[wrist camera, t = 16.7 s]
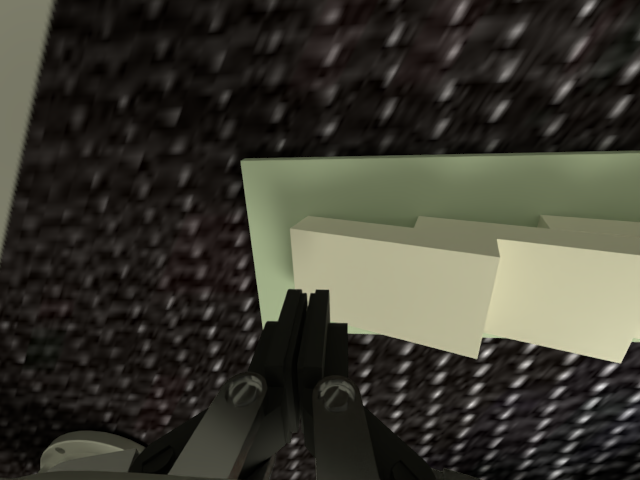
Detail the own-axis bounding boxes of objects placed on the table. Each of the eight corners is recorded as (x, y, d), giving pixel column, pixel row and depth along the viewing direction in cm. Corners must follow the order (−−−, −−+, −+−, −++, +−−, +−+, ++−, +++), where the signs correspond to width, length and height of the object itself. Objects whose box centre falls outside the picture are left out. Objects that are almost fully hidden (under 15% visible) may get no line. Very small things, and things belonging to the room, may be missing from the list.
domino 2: (404, 315, 16) (620, 363, 13) (413, 229, 14) (671, 258, 11) (410, 295, 18) (603, 333, 15) (418, 215, 16) (644, 238, 13)
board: (266, 323, 21) (263, 330, 20) (245, 158, 16) (240, 160, 16) (719, 335, 18) (735, 344, 18) (839, 146, 14) (866, 148, 13)
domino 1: (296, 312, 17) (477, 359, 13) (289, 228, 15) (499, 257, 11) (312, 293, 18) (476, 330, 15) (308, 215, 16) (496, 237, 13)
